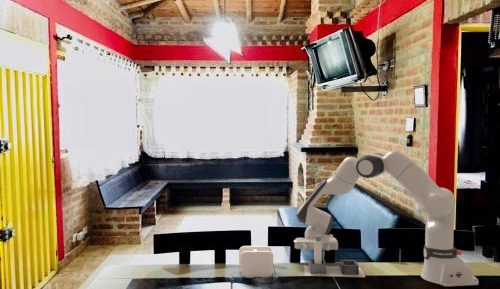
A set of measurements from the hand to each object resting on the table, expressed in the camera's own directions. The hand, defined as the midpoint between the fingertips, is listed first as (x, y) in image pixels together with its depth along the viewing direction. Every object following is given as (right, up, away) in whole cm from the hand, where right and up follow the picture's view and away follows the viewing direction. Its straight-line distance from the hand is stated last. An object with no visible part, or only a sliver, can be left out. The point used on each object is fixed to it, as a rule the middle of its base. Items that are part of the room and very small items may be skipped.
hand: (317, 248), depth 187 cm
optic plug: (0, -10, -1) cm, 10 cm away
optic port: (0, -10, -1) cm, 10 cm away
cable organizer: (-28, -11, -2) cm, 30 cm away
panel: (+7, -11, -2) cm, 13 cm away
